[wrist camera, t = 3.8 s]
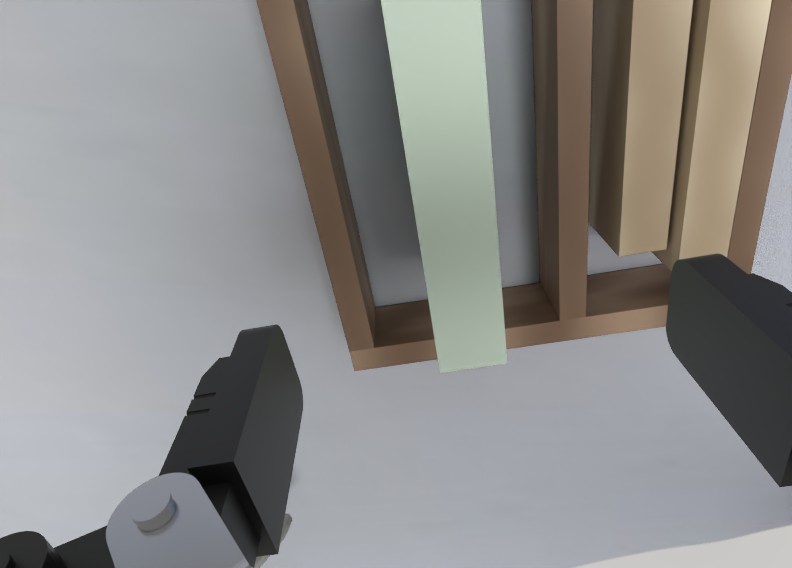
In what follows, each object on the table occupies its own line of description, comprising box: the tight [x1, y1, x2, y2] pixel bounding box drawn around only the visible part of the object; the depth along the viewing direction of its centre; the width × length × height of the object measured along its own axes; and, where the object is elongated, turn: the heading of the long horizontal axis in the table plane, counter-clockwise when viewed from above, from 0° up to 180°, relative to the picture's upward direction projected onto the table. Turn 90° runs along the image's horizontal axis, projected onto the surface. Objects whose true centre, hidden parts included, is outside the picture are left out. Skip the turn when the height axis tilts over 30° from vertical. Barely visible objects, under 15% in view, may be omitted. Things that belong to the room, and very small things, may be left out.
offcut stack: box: [589, 0, 772, 271], centre depth 21 cm, size 4×13×4 cm, turn 9°
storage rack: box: [257, 0, 792, 371], centre depth 21 cm, size 19×19×4 cm
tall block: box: [381, 0, 507, 373], centre depth 19 cm, size 2×12×9 cm, turn 9°
